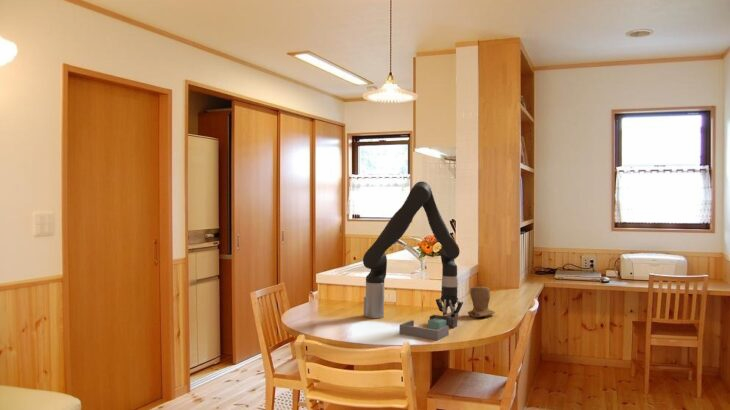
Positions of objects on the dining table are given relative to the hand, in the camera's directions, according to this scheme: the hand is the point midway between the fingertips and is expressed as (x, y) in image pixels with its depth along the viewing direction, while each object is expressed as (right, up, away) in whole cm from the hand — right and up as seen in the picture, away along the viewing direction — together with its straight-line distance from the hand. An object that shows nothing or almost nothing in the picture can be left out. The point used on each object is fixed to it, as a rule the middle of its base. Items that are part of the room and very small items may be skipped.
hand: (448, 320), depth 273 cm
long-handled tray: (0, -1, 0) cm, 1 cm away
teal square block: (-7, -1, -11) cm, 13 cm away
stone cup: (+18, -1, +18) cm, 26 cm away
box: (-14, -1, -23) cm, 27 cm away
